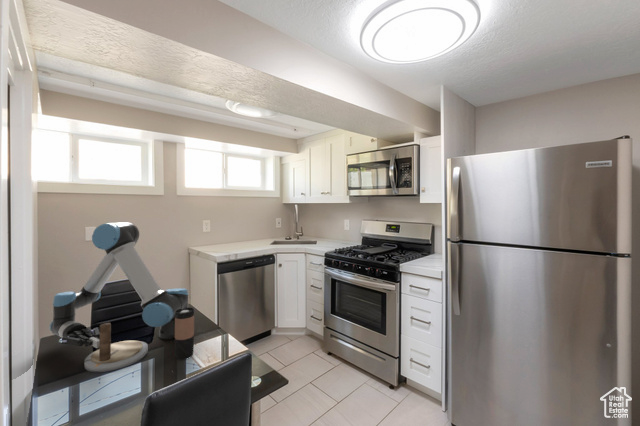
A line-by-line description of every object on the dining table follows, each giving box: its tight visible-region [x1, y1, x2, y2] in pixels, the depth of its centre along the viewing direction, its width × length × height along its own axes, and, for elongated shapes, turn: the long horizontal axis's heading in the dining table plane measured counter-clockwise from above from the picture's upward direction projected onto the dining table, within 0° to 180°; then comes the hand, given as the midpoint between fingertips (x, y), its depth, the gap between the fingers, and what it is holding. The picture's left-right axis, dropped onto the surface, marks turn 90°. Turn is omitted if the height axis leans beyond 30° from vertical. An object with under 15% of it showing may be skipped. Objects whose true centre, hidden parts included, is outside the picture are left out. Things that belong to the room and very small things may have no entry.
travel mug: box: [174, 307, 195, 361], centre depth 120 cm, size 8×8×20 cm
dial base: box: [84, 340, 149, 373], centre depth 118 cm, size 22×22×2 cm
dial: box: [91, 322, 143, 364], centre depth 118 cm, size 18×18×15 cm
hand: (98, 344), depth 110 cm, fingers closed
